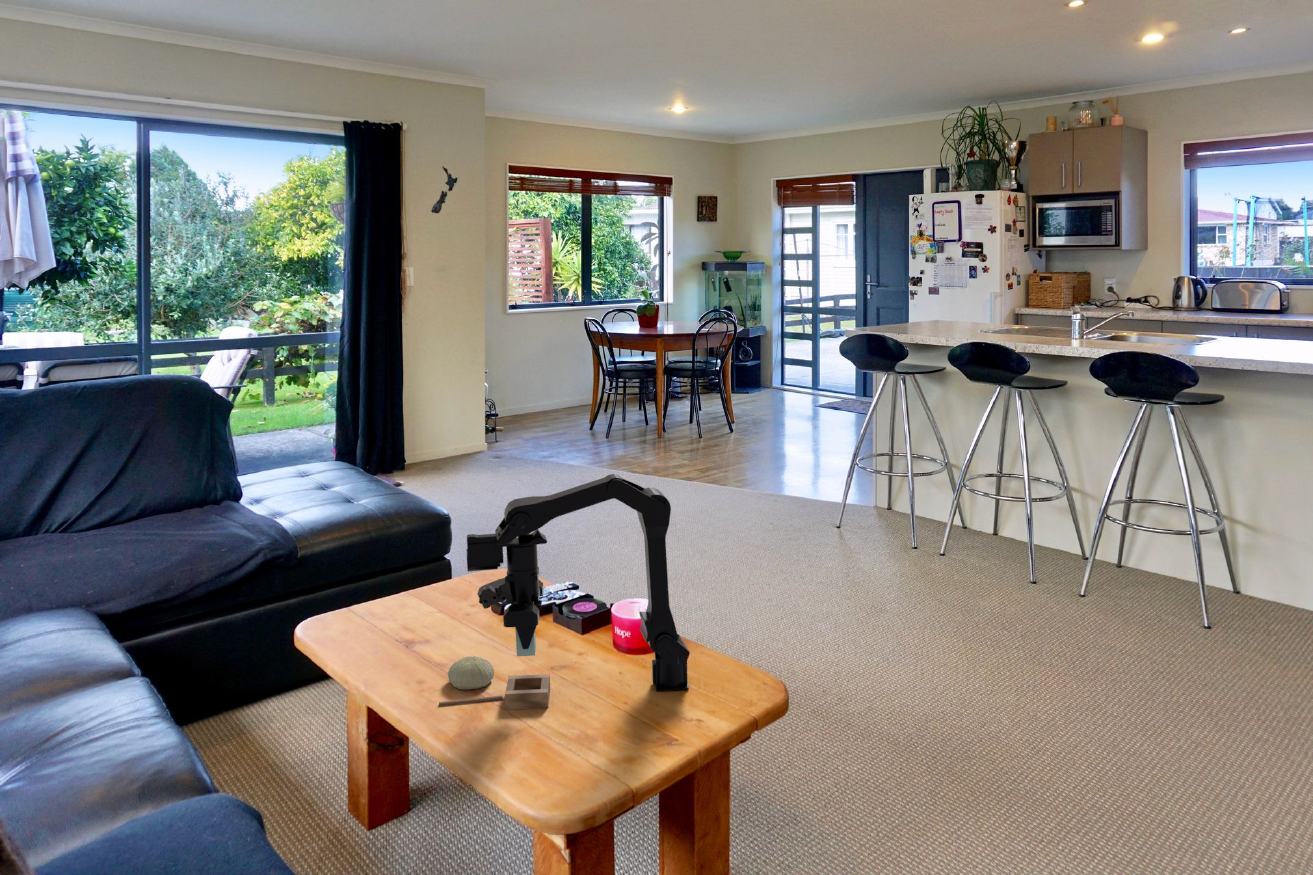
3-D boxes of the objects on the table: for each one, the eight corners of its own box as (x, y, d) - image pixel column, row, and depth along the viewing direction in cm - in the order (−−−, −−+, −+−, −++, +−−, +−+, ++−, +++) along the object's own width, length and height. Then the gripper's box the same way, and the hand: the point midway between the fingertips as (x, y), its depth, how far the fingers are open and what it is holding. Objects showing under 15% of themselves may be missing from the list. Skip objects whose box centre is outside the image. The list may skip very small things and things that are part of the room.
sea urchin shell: (449, 688, 183) (446, 649, 187) (449, 702, 189) (446, 665, 193) (497, 681, 185) (492, 643, 189) (495, 696, 191) (491, 659, 196)
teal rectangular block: (536, 648, 181) (534, 607, 180) (534, 655, 178) (532, 613, 177) (518, 649, 181) (516, 607, 180) (516, 656, 178) (514, 614, 176)
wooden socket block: (550, 689, 185) (549, 674, 185) (548, 707, 178) (547, 692, 177) (509, 690, 185) (508, 675, 184) (505, 709, 177) (504, 693, 177)
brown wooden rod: (502, 697, 182) (502, 695, 182) (502, 699, 182) (502, 696, 181) (439, 704, 180) (439, 701, 180) (439, 705, 179) (439, 703, 179)
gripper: (485, 553, 185) (489, 628, 188) (472, 584, 167) (477, 667, 170) (541, 551, 186) (545, 625, 189) (535, 582, 168) (539, 664, 170)
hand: (526, 644), depth 179 cm, fingers closed on teal rectangular block, 3 cm apart
